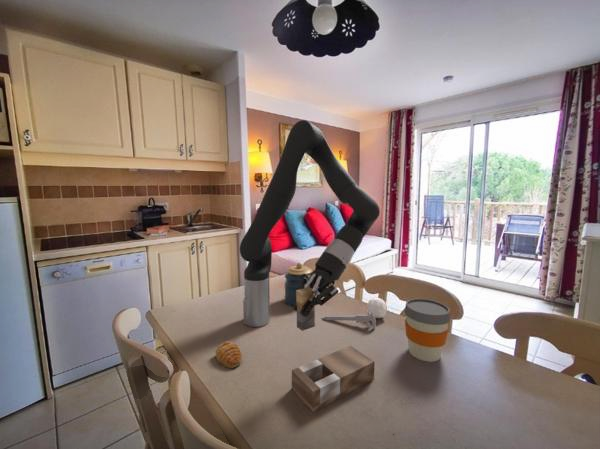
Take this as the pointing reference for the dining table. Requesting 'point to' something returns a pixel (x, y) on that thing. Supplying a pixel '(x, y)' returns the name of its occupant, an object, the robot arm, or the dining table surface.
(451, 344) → the dining table surface
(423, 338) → the reusable coffee cup
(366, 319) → the caliper
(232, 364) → the pastry
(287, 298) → the canister
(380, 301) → the geometric ball
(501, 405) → the dining table surface
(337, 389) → the notched wooden block
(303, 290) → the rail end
